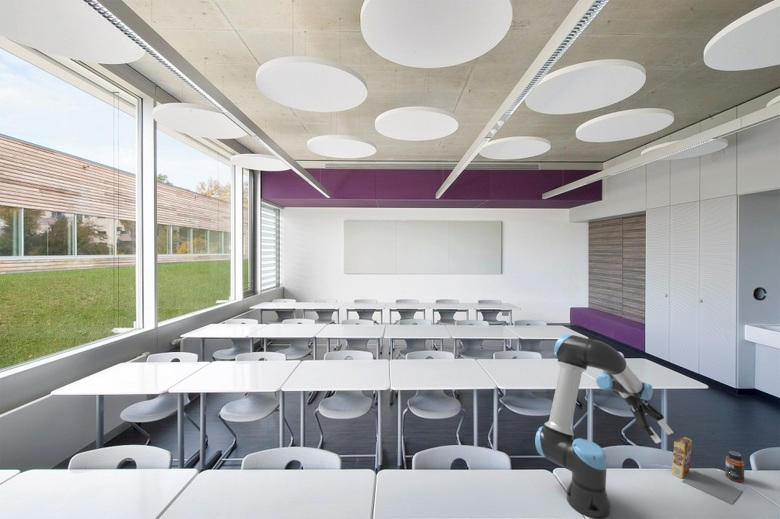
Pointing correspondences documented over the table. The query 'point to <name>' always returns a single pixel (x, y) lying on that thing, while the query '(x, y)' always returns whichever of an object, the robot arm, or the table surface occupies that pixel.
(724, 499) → the felt pad
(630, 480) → the table surface
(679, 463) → the candy box
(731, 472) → the supplement bottle
